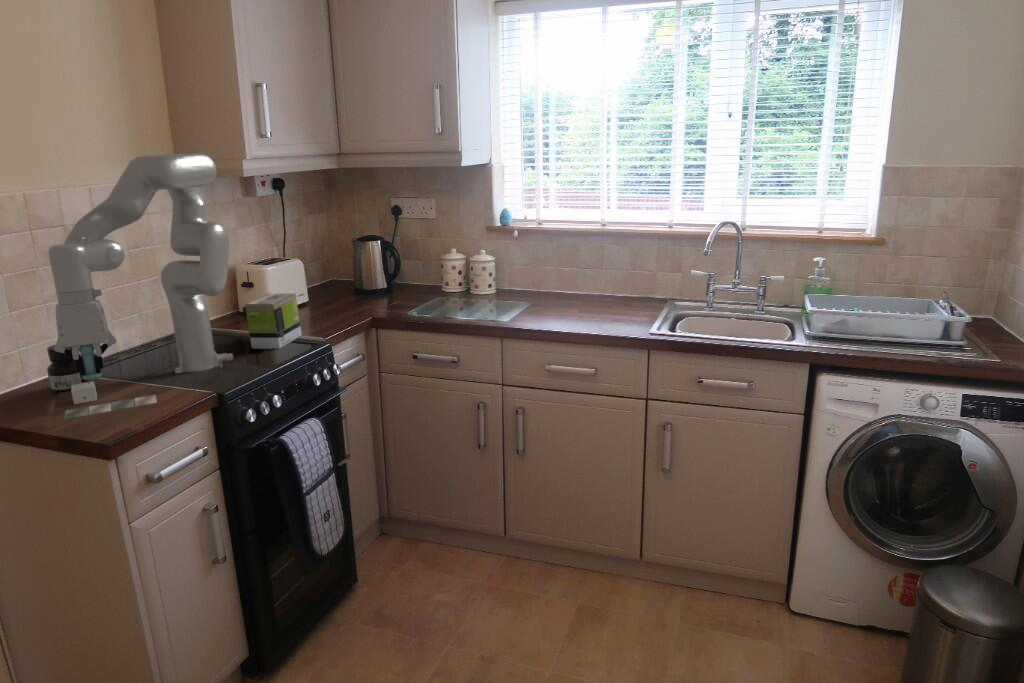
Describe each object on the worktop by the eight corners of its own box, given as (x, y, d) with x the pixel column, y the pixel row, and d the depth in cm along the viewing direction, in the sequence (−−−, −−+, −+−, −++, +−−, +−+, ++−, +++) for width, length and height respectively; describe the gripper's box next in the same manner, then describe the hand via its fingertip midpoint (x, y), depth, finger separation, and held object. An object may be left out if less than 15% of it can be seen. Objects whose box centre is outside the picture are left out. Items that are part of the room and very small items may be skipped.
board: (156, 399, 185) (155, 394, 185) (158, 407, 179) (157, 402, 179) (66, 415, 176) (65, 410, 176) (64, 424, 170) (63, 419, 170)
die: (97, 399, 187) (93, 380, 186) (98, 405, 183) (94, 386, 181) (75, 403, 185) (70, 384, 183) (74, 409, 180) (70, 390, 179)
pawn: (101, 373, 176) (95, 339, 174) (101, 377, 173) (94, 342, 170) (82, 376, 174) (76, 341, 172) (82, 380, 171) (75, 345, 169)
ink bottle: (43, 394, 192) (33, 351, 189) (62, 383, 201) (53, 342, 197) (79, 393, 192) (70, 350, 189) (97, 382, 201) (89, 340, 197)
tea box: (274, 335, 242) (269, 292, 237) (302, 336, 239) (297, 292, 235) (250, 348, 227) (243, 302, 223) (279, 349, 225) (273, 303, 221)
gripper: (115, 290, 175) (129, 363, 180) (36, 299, 168) (52, 374, 173) (115, 295, 169) (129, 371, 174) (33, 304, 162) (50, 383, 167)
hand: (91, 372), depth 173 cm, fingers closed on pawn, 2 cm apart
